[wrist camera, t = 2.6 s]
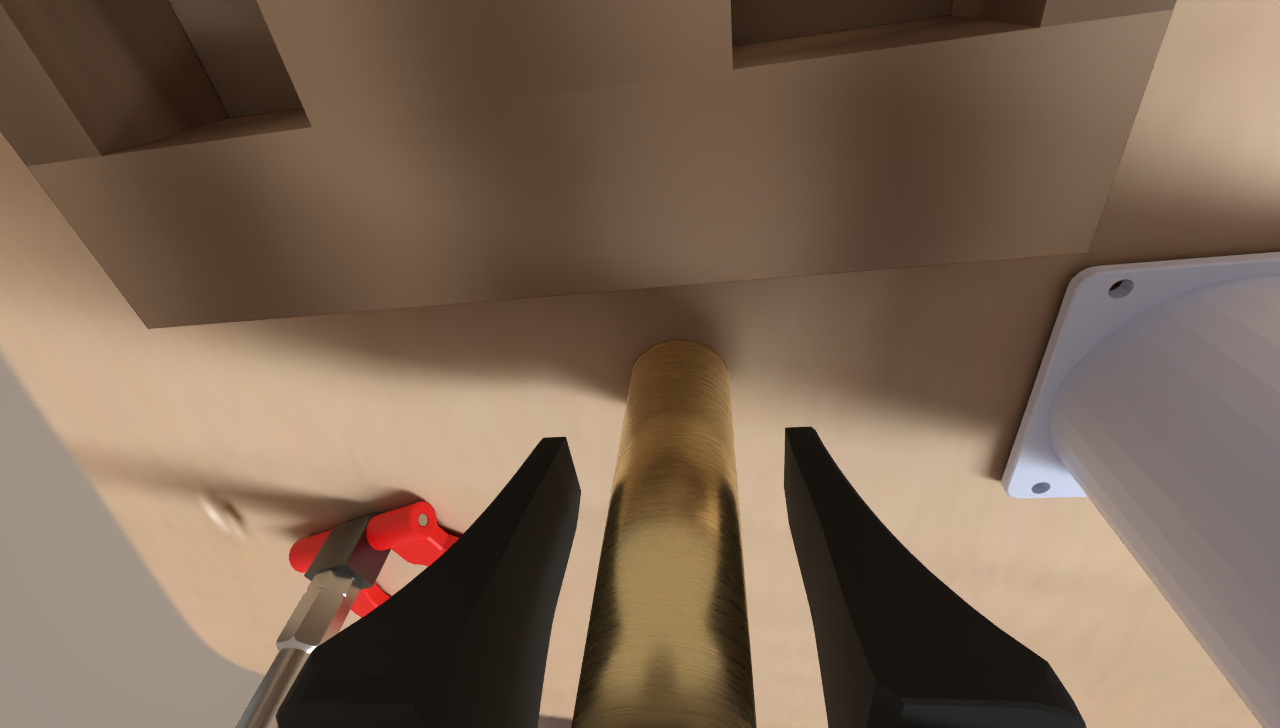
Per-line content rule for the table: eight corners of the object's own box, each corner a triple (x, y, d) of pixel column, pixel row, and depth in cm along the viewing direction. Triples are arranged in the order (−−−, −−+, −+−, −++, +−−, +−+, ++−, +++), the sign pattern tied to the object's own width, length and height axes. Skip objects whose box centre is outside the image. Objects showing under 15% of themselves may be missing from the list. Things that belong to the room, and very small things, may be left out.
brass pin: (726, 336, 16) (758, 719, 8) (731, 416, 17) (760, 801, 9) (624, 343, 16) (549, 712, 8) (637, 420, 18) (587, 791, 10)
